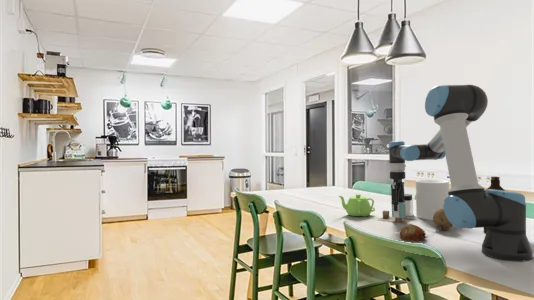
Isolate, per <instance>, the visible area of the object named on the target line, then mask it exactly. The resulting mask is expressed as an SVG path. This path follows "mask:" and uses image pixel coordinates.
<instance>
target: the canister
mask: <svg viewBox="0 0 534 300" xmlns="http://www.w3.org/2000/svg"><path fill="white" fill-rule="evenodd" d="M449 190H450V181H449V180H444V179H416V180H415V205H416V206H415V207H416V208H415V211H416V212H415V214H416V217H417V218H419V219H423V220H430V221H433V216H434V213H435V212H436V211H437V210H439V209H444V208H443V204H444V200H445V198H446V197H448V196H449V195H448V191H449Z"/></svg>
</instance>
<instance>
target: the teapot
mask: <svg viewBox="0 0 534 300" xmlns="http://www.w3.org/2000/svg"><path fill="white" fill-rule="evenodd" d="M338 197H339V198H340V200H341V206H342V208H343V209H344V210H345V212H346V213H347V215H348V216H351V217H368V216H370V214H372V213H373V212H375V210H376V209H375V207H374V204H375V201H374V199H373V198H371V197H368V198H367V197H366V196H362V195H361V194H360V193H359V194H358V193H357V194H355V196H350V197H349V198H348V200H347V203H346V202H345V199H344V197H343V196H342V195H338ZM370 201H372V202H371V203H370Z"/></svg>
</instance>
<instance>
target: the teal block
mask: <svg viewBox="0 0 534 300" xmlns="http://www.w3.org/2000/svg"><path fill="white" fill-rule="evenodd" d="M398 205H399V216H400V217H399V218H406V217H407V216H406V210H405V204H404V203H398ZM391 217H394V211H393V204H391ZM395 218H397V217H395Z"/></svg>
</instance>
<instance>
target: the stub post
mask: <svg viewBox="0 0 534 300" xmlns="http://www.w3.org/2000/svg"><path fill="white" fill-rule="evenodd" d="M382 217H383V218H389V217H390V210H386V209H385V210H382Z"/></svg>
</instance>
